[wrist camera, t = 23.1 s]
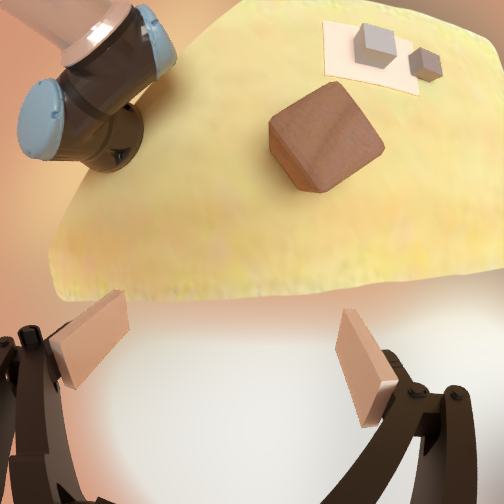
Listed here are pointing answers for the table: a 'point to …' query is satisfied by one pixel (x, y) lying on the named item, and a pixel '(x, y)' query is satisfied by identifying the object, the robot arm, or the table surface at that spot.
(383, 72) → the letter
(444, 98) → the table surface
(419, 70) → the grey cube
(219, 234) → the table surface
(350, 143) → the wooden block
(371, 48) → the slate cube
